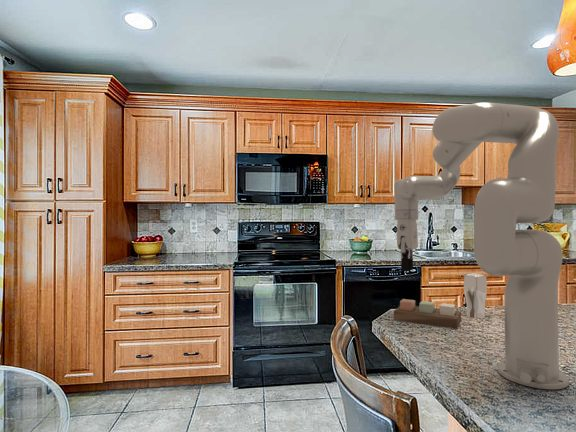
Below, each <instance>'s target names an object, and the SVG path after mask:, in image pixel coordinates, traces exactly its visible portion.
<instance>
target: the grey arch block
mask: <svg viewBox="0 0 576 432" xmlns="http://www.w3.org/2000/svg"><path fill="white" fill-rule="evenodd" d="M463 277H464V279H463V291H464V292H463V293H464V298H465V302H466V312H465V313H466V314H465V315H466V317H468V318H473V319H485V318H486V314H485V313H486V312H485V307H486V305H485V304H486V301H487V299H486V298H487V292H488V284H487V275H486V274H483V273H474V272H473V273H472V272H471V273H470V272H469V273H464V276H463Z"/></svg>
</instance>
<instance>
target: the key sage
mask: <svg viewBox="0 0 576 432" xmlns="http://www.w3.org/2000/svg"><path fill="white" fill-rule="evenodd" d="M418 307H419V312H424V313H432V314H433V313H434V312H435V309H436V308H435V307H436V306H435V301H425V300H421V301H420V302H419V305H418Z"/></svg>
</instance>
